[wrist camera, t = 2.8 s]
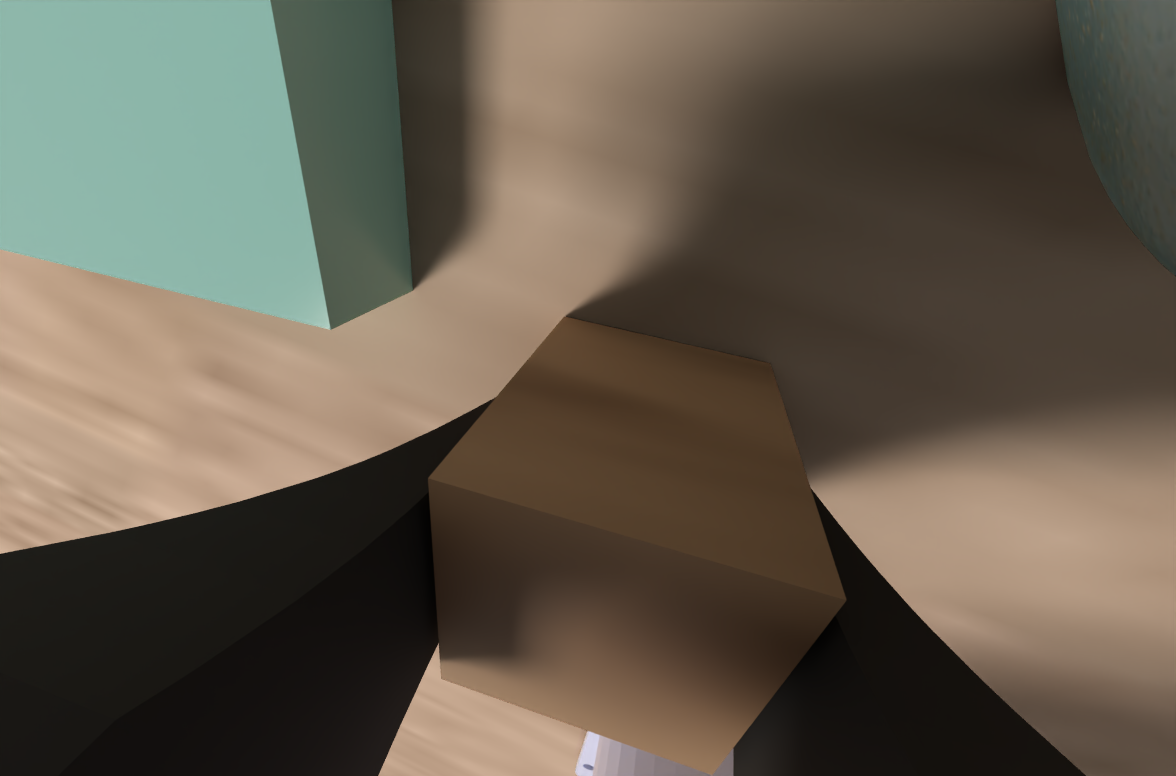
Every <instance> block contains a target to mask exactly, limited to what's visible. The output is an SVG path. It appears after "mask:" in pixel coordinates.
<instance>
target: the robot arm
mask: <svg viewBox="0 0 1176 776" xmlns="http://www.w3.org/2000/svg"><path fill="white" fill-rule="evenodd" d="M494 399H495V398H494ZM494 399H492V400H490V401H488V402H486V403H485V404H483V405H481V406H479V407H477V408H475V409H473V410H472V411H470V412H468V413H466V414H464V415H462V416H460V417H458V418H456V419H454V420H452V421H450V422H448V423H447V424H445V425H443V426H441V427H439V428H437V429H435V430H432V431H430V432H428V433H426V434H424V435H422V436H419V437H417V438H415V439H413V440H411V441H409V442H406V443H404V444H402V445H400V446H398V447H396V448H394V449H391V450H389V451H387V452H384V453H382V454H380V455H377V456H375V457H372V458H370V459H367V460H365V461H362V462H360V463H357V464H354V465H352V466H349V467H346V468H343V469H341V470H338V471H335V472H333V473H330V474H327V475H324V476H321V477H318V478H315V479H312V480H309V481H306V482H303V483H299V484H296V485H293V486H289V487H286V488H283V489H280V490H276V491H273V492H270V493H266V494H263V495H260V496H257V497H253V498H250V499H247V500H243V501H240V502H236V503H232V504H229V505H225V506H221V507H217V508H213V509H209V510H206V511H202V512H198V513H194V514H190V515H186V516H181V517H177V518H173V519H169V520H164V521H160V522H156V523H152V524H147V525H143V526H139V527H134V528H129V529H125V530H120V531H116V532H111V533H106V534H101V535H96V536H90V537H85V538H80V539H75V540H70V541H65V542H59V543H54V544H49V545H44V546H39V547H34V548H28V549H23V550H18V551H13V552H8V553H3V554H0V776H378V775H379V773H380V770H381V768H382V766H383V763H384V761H385V759H386V757H387V754H388V752H389V750H390V748H391V745H392V743H393V741H394V738H395V736H396V734H397V732H398V729H399V727H400V725H401V723H402V721H403V718H404V716H405V714H406V712H407V710H408V707H409V705H410V703H411V701H412V699H413V697H414V694H415V692H416V690H417V688H418V686H419V683H420V681H421V679H422V677H423V675H424V672H425V670H426V668H427V666H428V664H429V662H430V660H431V658H432V656H433V653H434V651H435V649H436V647H437V645H438V643H439V638H438V623H437V607H436V592H435V577H434V562H433V547H432V532H431V517H430V502H429V487H428V478H429V476H430V475H431V474H432V473H433V472H434V471H435V469H436V468H437V467H438V466H439V465H440V463H441V462H442V461H443V460H444V459H445V457H446V456H447V455H448V454H449V453H450V452H451V450H452V449H453V448H454V447H455V446H456V444H457V443H458V442H459V441H460V440H461V438H462V437H463V436H464V435H465V434H466V433H467V431H468V430H469V429H470V428H471V427H472V425H473V424H474V423H475V422H476V421H477V419H478V418H479V417H480V416H481V415H482V414H483V412H484V411H485V410H486V409H487V408H488V406H489V405H490V404H491V403H492V402H493V401H494ZM811 491H812V494H813V497H814V501H815V504H816V507H817V510H818V513H819V516H820V519H821V522H822V525H823V528H824V532H825V535H826V538H827V541H828V544H829V547H830V550H831V553H832V556H833V560H834V563H835V566H836V569H837V572H838V575H839V578H840V581H841V584H842V588H843V591H844V594H845V597H846V602H845V603H844V604H843V606H842V607H841V608H840V610H839V611H838V612H837V613H836V615H835V616H834V617H833V619H832V620H831V621H830V623H829V624H828V625H827V627H826V628H825V629H824V630H823V632H822V633H821V634H820V636H819V637H818V638H817V640H816V641H815V642H814V643H813V645H812V646H811V647H810V649H809V650H808V651H807V653H806V654H805V655H804V656H803V658H802V659H801V660H800V662H799V663H798V664H797V666H796V667H795V668H794V669H793V671H792V672H791V673H790V675H789V676H788V677H787V679H786V680H785V681H784V683H783V684H782V685H781V686H780V688H779V689H778V690H777V692H776V693H775V694H774V696H773V697H772V698H771V699H770V701H769V702H768V703H767V705H766V706H765V707H764V709H763V710H762V711H761V712H760V714H759V715H758V716H757V718H756V719H755V720H754V722H753V723H752V724H751V726H750V727H749V728H748V729H747V731H746V732H745V733H744V735H743V736H742V737H741V739H740V740H739V741H738V742H737V744H736V745H735V746H734V748H733V749H732V750H731V752H730V753H729V754H728V755H727V757H726V758H725V759H724V761H723V762H722V763H721V765H720V766H719V767H718V768H717V770H716V771H715V772H714V774H713V775H710V774H708V773H705V772H702V771H699V770H696V769H693V768H691V767H688V766H685V765H682V764H679V763H677V762H674V761H671V760H668V759H665V758H663V757H660V756H657V755H654V754H651V753H648V752H646V751H643V750H640V749H637V748H634V747H632V746H629V745H626V744H623V743H620V742H618V741H615V740H612V739H609V738H606V737H603V736H601V735H598V734H595V733H592V732H589V731H587V733H586V736H585V739H584V743H583V746H582V749H581V752H580V755H579V758H578V761H577V765H576V770H575V772H576V774H577V775H578V776H1086V775H1085V774H1083V773H1082V772H1081V771H1080V770H1079V769H1078V768H1077V767H1076V766H1074V765H1073V764H1072V763H1071V762H1070V761H1069V760H1068V759H1067V758H1066V757H1065V756H1063V755H1062V754H1061V753H1060V752H1059V751H1058V750H1057V749H1056V748H1055V747H1054V746H1052V745H1051V744H1050V743H1049V742H1048V741H1047V740H1046V739H1045V738H1044V737H1043V736H1041V735H1040V734H1039V733H1038V732H1037V731H1036V730H1035V729H1034V728H1033V727H1032V726H1030V725H1029V724H1028V723H1027V722H1026V721H1025V720H1024V719H1023V718H1022V717H1021V716H1019V715H1018V714H1017V713H1016V712H1015V711H1014V710H1013V709H1012V708H1011V707H1010V706H1009V705H1008V704H1007V703H1005V702H1004V701H1003V700H1002V699H1001V698H1000V697H999V696H998V695H997V694H996V693H995V692H994V691H993V690H992V689H991V688H990V687H989V686H988V685H986V684H985V683H984V682H983V681H982V680H981V679H980V678H979V677H978V676H977V675H976V674H975V673H974V672H973V671H972V670H971V669H970V668H969V667H968V666H967V665H966V664H965V663H964V662H963V661H962V660H961V659H960V658H959V657H958V656H957V655H956V654H955V653H954V652H953V651H952V650H951V649H950V648H949V647H948V646H947V645H946V644H945V643H944V642H943V641H942V640H941V639H940V638H939V637H938V636H937V635H936V634H935V633H934V632H933V631H932V630H931V629H930V628H929V627H928V625H927V624H926V623H925V622H924V621H923V620H922V619H921V618H920V617H919V616H918V615H917V614H916V613H915V612H914V611H913V610H912V609H911V607H910V606H909V605H908V604H907V603H906V602H905V601H904V600H903V599H902V597H901V596H900V595H899V594H898V593H897V592H896V591H895V590H894V588H893V587H892V586H891V585H890V584H889V583H888V582H887V581H886V579H885V578H884V577H883V576H882V575H881V574H880V573H879V572H878V571H877V569H876V568H875V567H874V566H873V565H872V563H871V562H870V561H869V560H868V559H867V558H866V556H865V555H864V554H863V553H862V552H861V551H860V549H859V548H858V547H857V546H856V544H855V543H854V542H853V541H852V540H851V538H850V537H849V536H848V535H847V533H846V532H845V531H844V530H843V529H842V527H841V526H840V525H839V524H838V522H837V521H836V520H835V518H834V517H833V516H832V515H831V513H830V512H829V511H828V510H827V508H826V507H825V506H824V505H823V503H822V502H821V501H820V499H819V498H818V497H817V496H816V494H815V493H814V492H813V490H812V489H811Z"/></svg>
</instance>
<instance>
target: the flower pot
mask: <svg viewBox="0 0 1176 776" xmlns="http://www.w3.org/2000/svg"><path fill="white" fill-rule="evenodd" d="M1055 2H1056V9H1057V15H1058V22H1059V29H1060V35H1061V42H1062V49H1063V55H1064V62H1065V69H1066V75H1067V82H1068V86H1069V89H1070V93H1071V96H1072V100H1073V103H1074V107H1075V110H1076V114H1077V117H1078V121H1079V124H1080V127H1081V131H1082V134H1083V137H1084V141H1085V144H1086V147H1087V151H1088V154H1089V158H1090V160H1091V162H1092V164H1093V166H1094V168H1095V170H1096V172H1097V174H1098V176H1099V179H1100V181H1101V183H1102V185H1103V187H1104V189H1105V191H1106V193H1107V195H1108V197H1109V198H1110V200H1111V201H1112V203H1113V204H1114V206H1115V207H1116V209H1117V210H1118V212H1119V213H1120V215H1121V216H1122V218H1123V219H1124V221H1125V222H1126V224H1127V225H1128V227H1129V228H1130V229H1131V230H1132V231H1133V233H1134V234H1135V235H1136V236H1137V237H1138V239H1139V240H1140V241H1141V242H1142V244H1143V245H1144V246H1145V247H1146V248H1147V249H1148V250H1149V251H1150V252H1151V253H1152V254H1153V255H1154V256H1155V258H1156V259H1157V260H1158V261H1159V262H1160V263H1161V264H1162V265H1163V266H1164V267H1165V268H1167V269H1168V270H1169V271H1170V272H1171V273H1172V274H1173V275H1175V276H1176V0H1055Z"/></svg>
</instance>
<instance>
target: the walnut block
mask: <svg viewBox="0 0 1176 776" xmlns="http://www.w3.org/2000/svg"><path fill="white" fill-rule="evenodd" d="M428 487H429V502H430V517H431V532H432V547H433V562H434V577H435V592H436V607H437V623H438V638H439V653H440V668H441V679H443V680H446V681H449V682H452V683H454V684H457V685H460V686H463V687H466V688H469V689H471V690H474V691H477V692H480V693H483V694H485V695H488V696H491V697H494V698H497V699H499V700H502V701H505V702H508V703H511V704H514V705H516V706H519V707H522V708H525V709H528V710H530V711H533V712H536V713H539V714H542V715H544V716H547V717H550V718H553V719H556V720H559V721H561V722H564V723H567V724H570V725H573V726H575V727H578V728H581V729H584V730H587V731H589V732H592V733H595V734H598V735H601V736H603V737H606V738H609V739H612V740H615V741H618V742H620V743H623V744H626V745H629V746H632V747H634V748H637V749H640V750H643V751H646V752H648V753H651V754H654V755H657V756H660V757H663V758H665V759H668V760H671V761H674V762H677V763H679V764H682V765H685V766H688V767H691V768H693V769H696V770H699V771H702V772H705V773H708V774H710V775H713V774H714V772H715V771H716V770H717V768H718V767H719V766H720V765H721V763H722V762H723V761H724V759H725V758H726V757H727V755H728V754H729V753H730V752H731V750H732V749H733V748H734V746H735V745H736V744H737V742H738V741H739V740H740V739H741V737H742V736H743V735H744V733H745V732H746V731H747V729H748V728H749V727H750V726H751V724H752V723H753V722H754V720H755V719H756V718H757V716H758V715H759V714H760V712H761V711H762V710H763V709H764V707H765V706H766V705H767V703H768V702H769V701H770V699H771V698H772V697H773V696H774V694H775V693H776V692H777V690H778V689H779V688H780V686H781V685H782V684H783V683H784V681H785V680H786V679H787V677H788V676H789V675H790V673H791V672H792V671H793V669H794V668H795V667H796V666H797V664H798V663H799V662H800V660H801V659H802V658H803V656H804V655H805V654H806V653H807V651H808V650H809V649H810V647H811V646H812V645H813V643H814V642H815V641H816V640H817V638H818V637H819V636H820V634H821V633H822V632H823V630H824V629H825V628H826V627H827V625H828V624H829V623H830V621H831V620H832V619H833V617H834V616H835V615H836V613H837V612H838V611H839V610H840V608H841V607H842V606H843V604H844V603H845V602H846V597H845V594H844V591H843V588H842V584H841V581H840V578H839V575H838V572H837V569H836V566H835V563H834V560H833V556H832V553H831V550H830V547H829V544H828V541H827V538H826V535H825V532H824V528H823V525H822V522H821V519H820V516H819V513H818V510H817V507H816V504H815V501H814V497H813V494H812V491H811V488H810V485H809V482H808V479H807V476H806V473H805V469H804V466H803V463H802V460H801V457H800V454H799V451H798V448H797V445H796V441H795V438H794V435H793V432H792V429H791V426H790V423H789V420H788V417H787V414H786V410H785V407H784V404H783V401H782V398H781V395H780V392H779V389H778V386H777V382H776V379H775V376H774V373H773V370H772V367H771V364H770V363H766V362H762V361H757V360H753V359H749V358H744V357H740V356H736V355H731V354H727V353H722V352H718V351H714V350H709V349H705V348H701V347H696V346H692V345H687V344H683V343H679V342H674V341H670V340H665V339H661V338H657V337H652V336H648V335H644V334H639V333H635V332H630V331H626V330H622V329H617V328H613V327H608V326H604V325H600V324H595V323H591V322H587V321H582V320H578V319H573V318H569V317H565V316H564V317H563V319H562V320H561V321H560V322H559V323H558V325H557V326H556V327H555V328H554V329H553V331H552V332H551V333H550V334H549V335H548V336H547V338H546V339H545V340H544V341H543V342H542V344H541V345H540V346H539V347H538V348H537V350H536V351H535V352H534V353H533V354H532V355H531V357H530V358H529V359H528V360H527V361H526V363H525V364H524V365H523V366H522V367H521V368H520V370H519V371H518V372H517V373H516V374H515V376H514V377H513V378H512V379H511V380H510V382H509V383H508V384H507V385H506V386H505V387H504V389H503V390H502V391H501V392H500V393H499V395H498V396H497V397H496V398H495V399H494V401H493V402H492V403H491V404H490V405H489V406H488V408H487V409H486V410H485V411H484V412H483V414H482V415H481V416H480V417H479V418H478V419H477V421H476V422H475V423H474V424H473V425H472V427H471V428H470V429H469V430H468V431H467V433H466V434H465V435H464V436H463V437H462V438H461V440H460V441H459V442H458V443H457V444H456V446H455V447H454V448H453V449H452V450H451V452H450V453H449V454H448V455H447V456H446V457H445V459H444V460H443V461H442V462H441V463H440V465H439V466H438V467H437V468H436V469H435V471H434V472H433V473H432V474H431V475H430V476H429V478H428Z"/></svg>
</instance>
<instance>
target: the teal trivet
mask: <svg viewBox="0 0 1176 776" xmlns="http://www.w3.org/2000/svg"><path fill="white" fill-rule="evenodd" d="M0 249H1V250H5V251H9V252H14V253H18V254H22V255H26V256H30V257H34V258H38V259H42V260H46V261H51V262H55V263H59V264H63V265H67V266H71V267H75V268H79V269H83V270H87V271H92V272H96V273H100V274H104V275H108V276H112V277H116V278H120V279H124V280H129V281H133V282H137V283H141V284H145V285H149V286H153V287H157V288H161V289H165V290H170V291H174V292H178V293H182V294H186V295H190V296H194V297H198V298H202V299H206V300H211V301H215V302H219V303H223V304H227V305H231V306H235V307H239V308H243V309H248V310H252V311H256V312H260V313H264V314H268V315H272V316H276V317H280V318H284V319H289V320H293V321H297V322H301V323H305V324H309V325H313V326H317V327H321V328H326V329H330V330H331V329H333V328H335V327H337V326H340V325H342V324H344V323H346V322H348V321H350V320H352V319H354V318H356V317H358V316H360V315H363V314H365V313H367V312H369V311H371V310H373V309H375V308H377V307H379V306H381V305H384V304H386V303H388V302H390V301H392V300H394V299H396V298H398V297H400V296H402V295H405V294H407V293H409V292H411V291H413V284H412V271H411V257H410V243H409V230H408V216H407V203H406V189H405V176H404V162H403V149H402V135H401V121H400V108H399V94H398V81H397V67H396V54H395V40H394V27H393V13H392V0H0Z"/></svg>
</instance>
